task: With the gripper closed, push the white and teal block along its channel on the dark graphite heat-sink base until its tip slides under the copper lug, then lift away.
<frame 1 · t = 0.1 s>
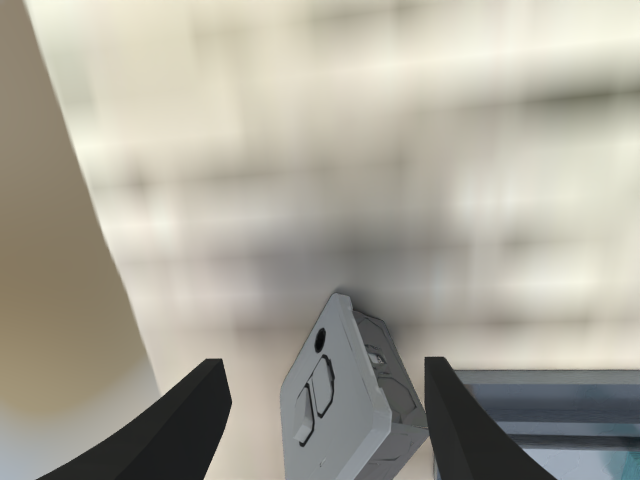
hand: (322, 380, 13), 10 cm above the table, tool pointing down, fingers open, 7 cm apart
white and teal block: (580, 472, 22), point 3 cm above the table, slide at 0.0 cm
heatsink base: (532, 429, 25), on the table
electrical switch: (343, 351, 25), on the table
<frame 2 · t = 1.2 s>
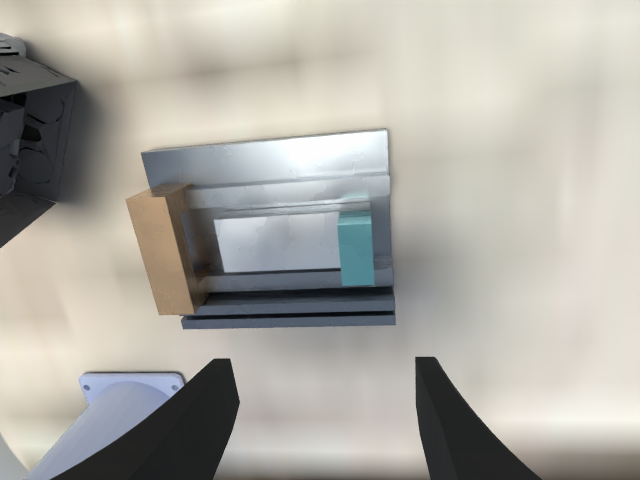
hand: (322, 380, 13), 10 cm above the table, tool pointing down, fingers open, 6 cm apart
white and teal block: (292, 244, 19), point 3 cm above the table, slide at 0.0 cm
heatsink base: (276, 226, 22), on the table
electrical switch: (52, 133, 22), on the table
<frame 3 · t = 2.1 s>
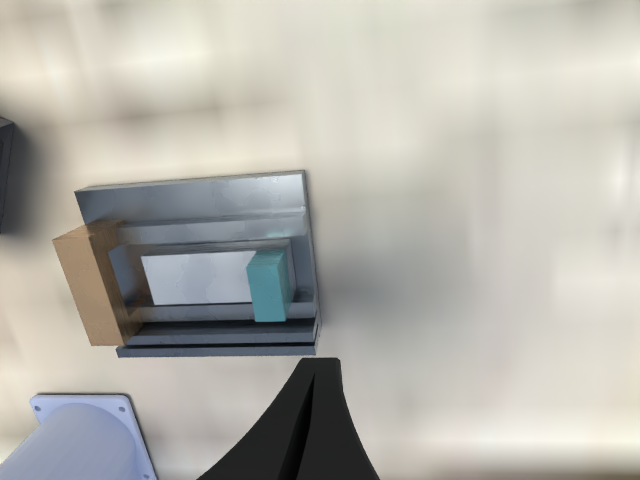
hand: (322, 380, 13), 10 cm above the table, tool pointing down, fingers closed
white and teal block: (214, 280, 20), point 3 cm above the table, slide at 0.0 cm
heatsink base: (209, 258, 23), on the table
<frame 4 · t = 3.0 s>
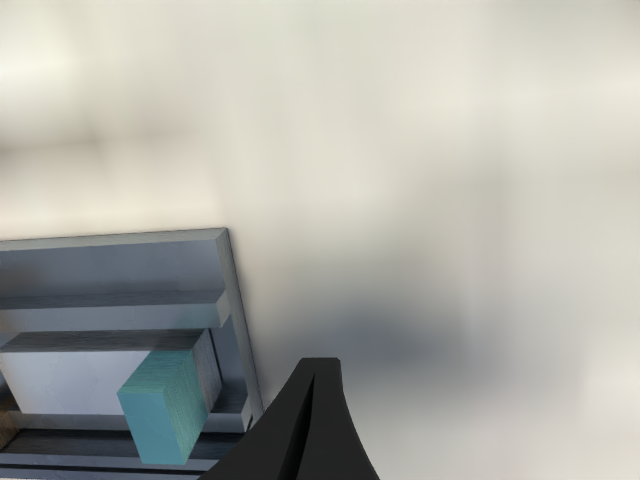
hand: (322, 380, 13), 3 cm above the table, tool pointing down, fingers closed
white and teal block: (95, 389, 14), point 3 cm above the table, slide at 0.0 cm
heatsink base: (110, 339, 17), on the table
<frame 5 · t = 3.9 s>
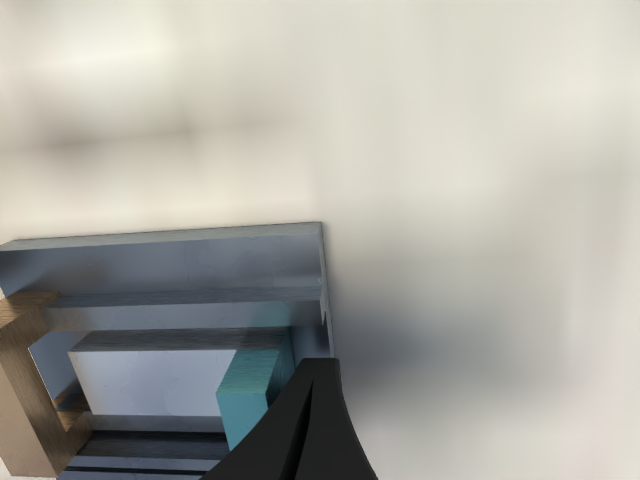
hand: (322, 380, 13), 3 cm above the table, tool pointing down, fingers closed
white and teal block: (175, 389, 13), point 3 cm above the table, slide at 0.5 cm, touching gripper
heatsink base: (185, 338, 16), on the table
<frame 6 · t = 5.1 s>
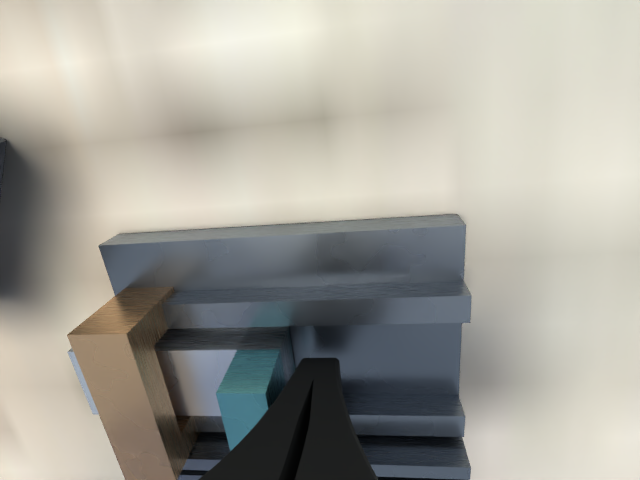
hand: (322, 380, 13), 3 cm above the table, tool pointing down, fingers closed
white and teal block: (175, 389, 13), point 3 cm above the table, slide at 5.3 cm, touching gripper
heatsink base: (293, 336, 16), on the table
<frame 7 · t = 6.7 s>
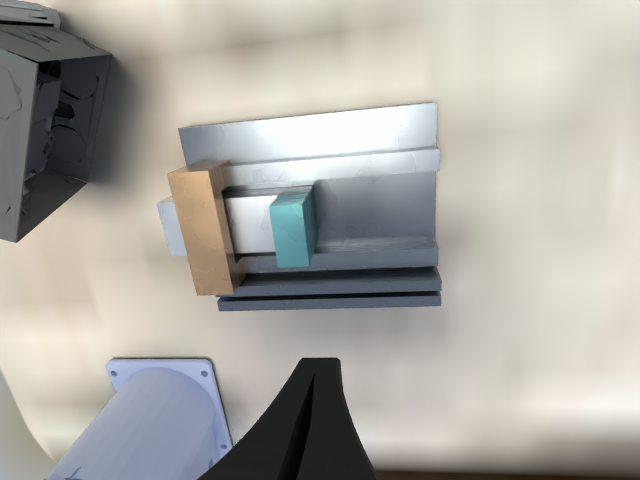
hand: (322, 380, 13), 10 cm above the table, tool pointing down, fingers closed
white and teal block: (233, 228, 19), point 3 cm above the table, slide at 5.3 cm
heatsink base: (314, 206, 21), on the table
electrical switch: (85, 110, 21), on the table
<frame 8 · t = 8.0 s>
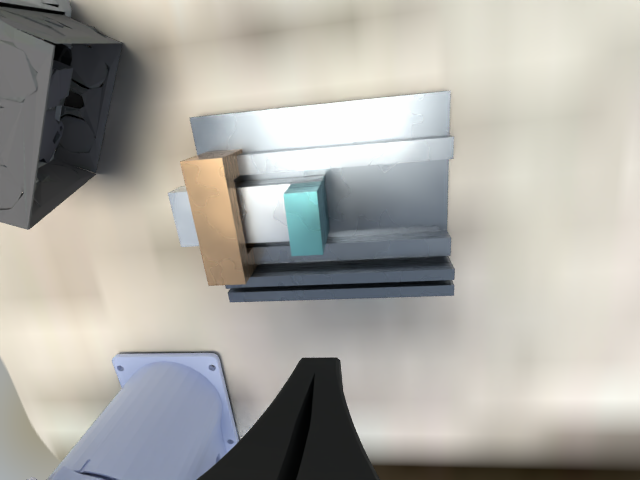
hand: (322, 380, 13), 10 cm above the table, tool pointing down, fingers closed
white and teal block: (245, 217, 19), point 3 cm above the table, slide at 5.3 cm
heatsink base: (325, 197, 21), on the table
electrical switch: (94, 100, 21), on the table
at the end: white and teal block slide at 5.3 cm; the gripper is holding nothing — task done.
